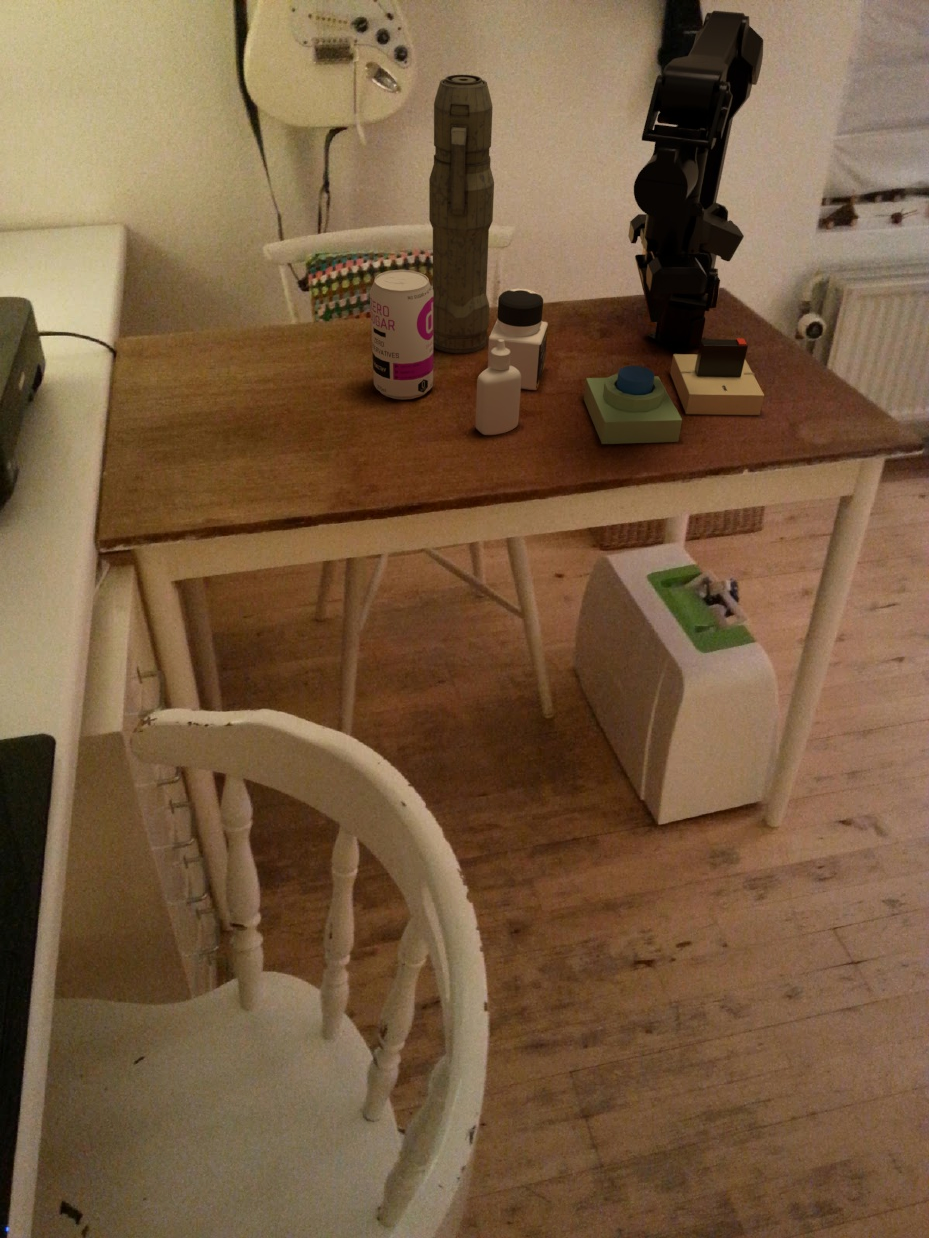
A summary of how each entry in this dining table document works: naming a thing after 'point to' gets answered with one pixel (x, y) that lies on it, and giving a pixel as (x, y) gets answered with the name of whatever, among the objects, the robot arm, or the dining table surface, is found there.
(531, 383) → the medicine bottle
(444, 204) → the thermos
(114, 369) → the dining table surface
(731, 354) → the dial
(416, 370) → the supplement can
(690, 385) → the console
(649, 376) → the cylinder
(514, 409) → the eye dropper bottle
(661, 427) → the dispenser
